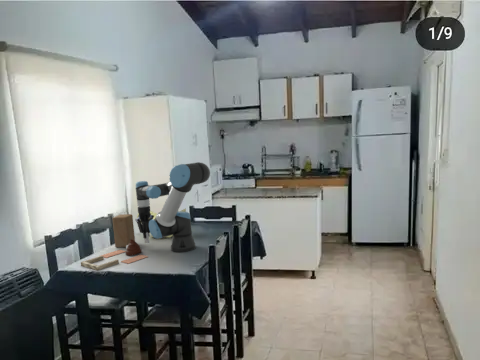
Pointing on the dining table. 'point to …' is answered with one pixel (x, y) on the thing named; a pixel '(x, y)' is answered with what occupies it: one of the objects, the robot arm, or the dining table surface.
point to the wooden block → (123, 229)
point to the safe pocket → (98, 267)
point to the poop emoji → (133, 248)
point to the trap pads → (126, 259)
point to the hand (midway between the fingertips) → (147, 242)
